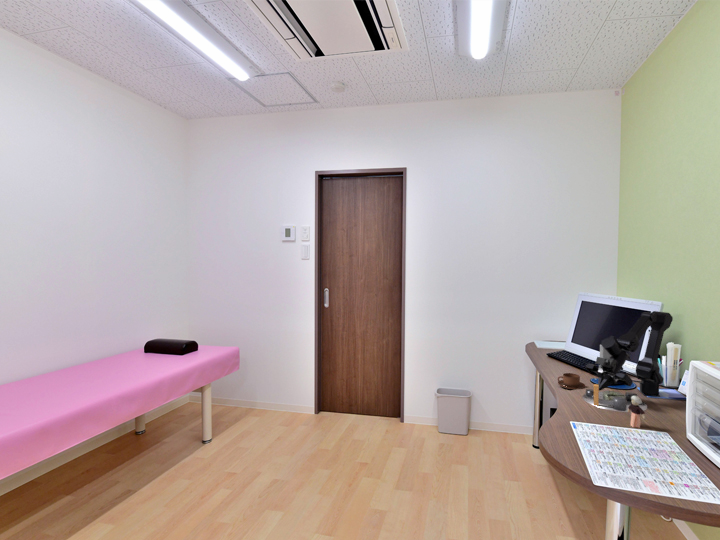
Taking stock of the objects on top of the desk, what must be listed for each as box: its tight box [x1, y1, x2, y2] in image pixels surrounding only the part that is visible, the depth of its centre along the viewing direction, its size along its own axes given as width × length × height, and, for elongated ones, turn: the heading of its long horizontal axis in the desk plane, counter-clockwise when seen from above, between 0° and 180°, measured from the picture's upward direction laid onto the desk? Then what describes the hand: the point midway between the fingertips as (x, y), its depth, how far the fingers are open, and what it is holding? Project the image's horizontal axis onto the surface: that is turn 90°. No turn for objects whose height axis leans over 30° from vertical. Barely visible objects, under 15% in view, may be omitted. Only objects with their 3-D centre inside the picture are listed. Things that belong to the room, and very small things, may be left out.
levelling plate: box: [582, 388, 648, 413], centre depth 175 cm, size 24×24×5 cm
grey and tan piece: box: [593, 383, 627, 410], centre depth 168 cm, size 12×5×8 cm, turn 58°
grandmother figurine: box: [627, 395, 647, 429], centre depth 150 cm, size 8×4×13 cm, turn 21°
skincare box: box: [598, 344, 611, 369], centre depth 215 cm, size 8×7×16 cm
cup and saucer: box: [557, 372, 586, 391], centre depth 197 cm, size 12×12×6 cm
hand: (598, 389), depth 174 cm, fingers closed
